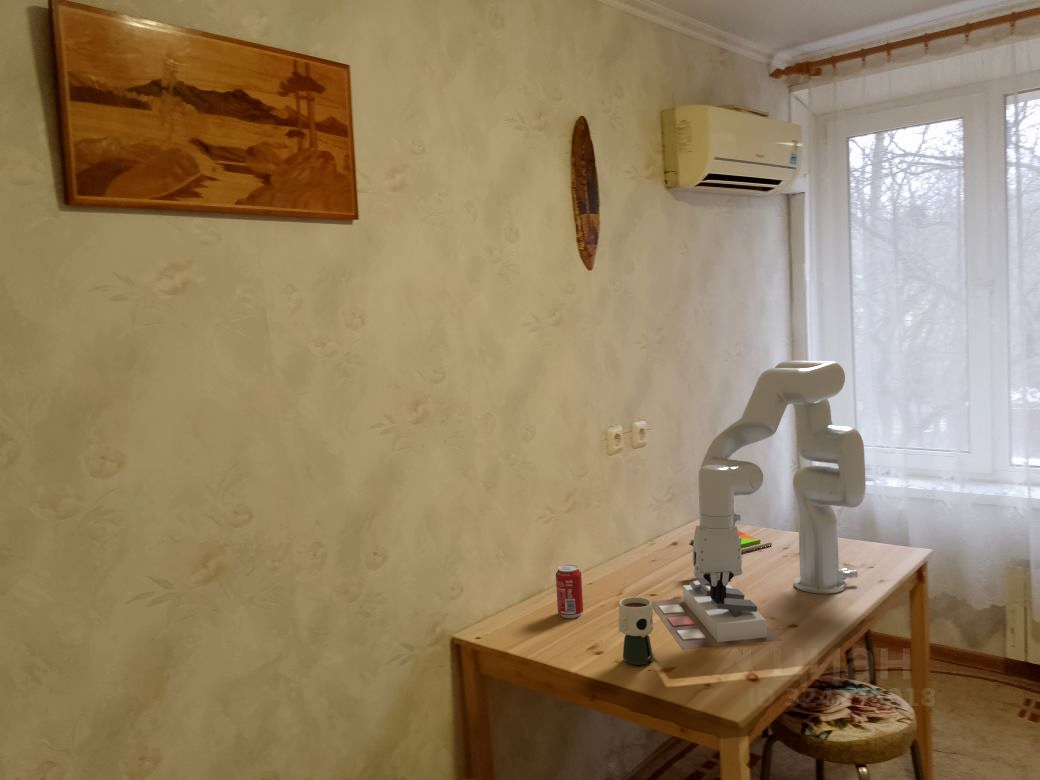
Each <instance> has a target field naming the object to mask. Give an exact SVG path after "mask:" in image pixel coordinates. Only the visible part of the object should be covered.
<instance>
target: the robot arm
mask: <svg viewBox="0 0 1040 780" xmlns="http://www.w3.org/2000/svg"><path fill="white" fill-rule="evenodd" d="M845 381H846V373H845V371H844V368H843V367H842V365H840V363H838V362H836V361H833V360H832V361H831V360H785V361H781V362H779V363H778V364H777V365H775V367H774V368H768V369H766V370H764V371H763V372H762V373H761V374H760V376H759V377H758V378H757V381H756V384H755V386H754V388H753V390H752V392H751V394H750V398H749V399H748V401H747V404H746V407H745V408H744V410H743V413H742V415H741V417H740V418H739V419H737V420H736V421H734V422H733V423H732V424H730V425H729V426H727V427H726V428H725V429H724V430H723V431H721V432H720V433H719V434H717V436H716V437H715V438H713V440H712V441H711V442H710V445H709V446H708V448H707V451H706V452H705V455H704V456H703V457H704V458H703V460H702V462H701V465H700V468H699V470H698V509H699V511H698V512H699V513H698V514H699V515H698V516H699V518H698V519H699V525H696V526H695V528H694V529H695V530H694V533H693V534H694V535H693V539H694V543H692V566H693V567H694V569H693V572H692V575H693V576H694V577H695V578H697V579H699V578H702V579H706V580H707V581H708V582H709V583H710V596H711V599H713V601H714V602H715V603H716V604H718V603H720V602H721V603H724V598H726V586H727V585H728V584H729V583H730V582H729V581H730V580H731V581H732V579H733V578H735V577H738V576H741V575H742V574H743V570H742V565H743V564H742V563H743V560H742V559H743V557H742V553H741V545H740V539H739V534H738V531H739V529H738V527H737V525H736V522H738V521H741V515H740V514H737V513H735V503H734V502H735V501H734V500H735V497H736V496H749V495H753V494H755V493H756V492H758V491H759V490H760V489H761V487H762V485H763V482H764V472H763V471H762V469H761V467H760V466H759V465H757V464H756V463H753V462H751V461H744V460H737V459H730V458H731V457H732V455H734V454H735V453H736V452H737V451H739V450H740V449H742V448H743V447H746V446H749V445H752V444H755V443H757V442H761V441H763V440H766V439H769V438H771V437H772V436H774V435H775V434H776V433H777V430H778V428H779V425H780V423H781V421H782V418H783V416H784V414H785V412H786V409H787V406H788V405H793V408H794V412H795V425H796V427H795V428H796V442H797V443H796V445H797V451H798V454H799V456H800V457H801V458H802V459H803V460H805V461H806V460H807V461H810V462H816V463H817V462H818V463H826V464H835V465H837V467H833V466H826V465H825V466H824V465H814V464H813V465H812V464H811V465H805V466H802V467H800V468H799V469H797V470H796V471H795V473H794V475H793V478H792V479H793V481H792V485H793V492H794V496H795V501H796V506H797V515H798V519H797V520H798V551H799V552H798V553H799V556H798V557H799V575H798V576H797V577H795V578H794V580H793V585H794V587H795V588H797V589H798V590H801V591H803V592H807V593H813V594H835V593H840V592H843V591H844V590H845V589H846V587H847V585H846V582H845V580H846V579H853V578H858V576H859V574H858V571H857V570H856V569H850V570H849V569H848V568H840V566H839V565H840V564H839V563H840V561H839V558H840V557H839V528H838V527H839V523H838V517H837V514H836V513H835V510H834V508H833V507H832V506H835V507H841V508H850V509H851V508H857V507H859V506H861V504H863V501H864V499H865V496H866V489H867V486H866V466H865V463H866V462H865V461H866V460H865V459H866V458H865V445H864V440H863V437H862V435H861V434H860V432H859V431H858V430H857V429H856V428H854V427H851V426H846V425H834V423H833V421H832V414H831V413H832V412H831V404H830V401H829V399H830V398H833V397H835V396H838V394H839V393H840V392H841V391H842V390H843V388H844V385H845V383H846V382H845ZM715 573H720V574H719V581H718V582H717V580H716V574H715Z"/></svg>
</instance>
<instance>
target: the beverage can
mask: <svg viewBox="0 0 1040 780" xmlns="http://www.w3.org/2000/svg"><path fill="white" fill-rule="evenodd" d="M557 569H558V570H557V571H556V573H555V583H556V584H555V585H556V601H557V602H556V603H557V604H556V605H557V613H558V614H559V615H561V617H562V618H564V619H574V618H575V619H576V618H579V617H580V616H581V614H582V613H583V611H584V603H583V602H584V601H583V600H584V599H583V597H584V596H583V585H582V584H583V583H582V582H583V581H582V571H581V570H580V569H579V566H578V565H577V564H576V565H575V564H564V565H563V564H562V565H560V566H558V567H557Z"/></svg>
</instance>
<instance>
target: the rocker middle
mask: <svg viewBox="0 0 1040 780" xmlns="http://www.w3.org/2000/svg"><path fill="white" fill-rule="evenodd" d="M701 591H702V592H703V593H704V594H705V595H706V596H710V586H708V585H701ZM745 596H746V595H745V594H744V593H743V592H742V591H740V589H739V588H734V587H732V588H726V598H733V599H745Z"/></svg>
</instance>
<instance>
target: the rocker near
mask: <svg viewBox="0 0 1040 780" xmlns="http://www.w3.org/2000/svg"><path fill="white" fill-rule="evenodd" d="M711 602H712V603H713V604H714V605H715V607H716V608H717V609H727V610H728V611H729V612H730V613H731V614H732V615H733V616H735V617H737V616H740V615H741V613H742V611H751V612H758V606H757V605H756V604H755V603H754V602H753V601H752V600H751V599H745V598H744V599H733V598H724V603H721V602H720V603H718V604H716V603H715V602H714V601H713V599H712V600H711Z"/></svg>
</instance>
